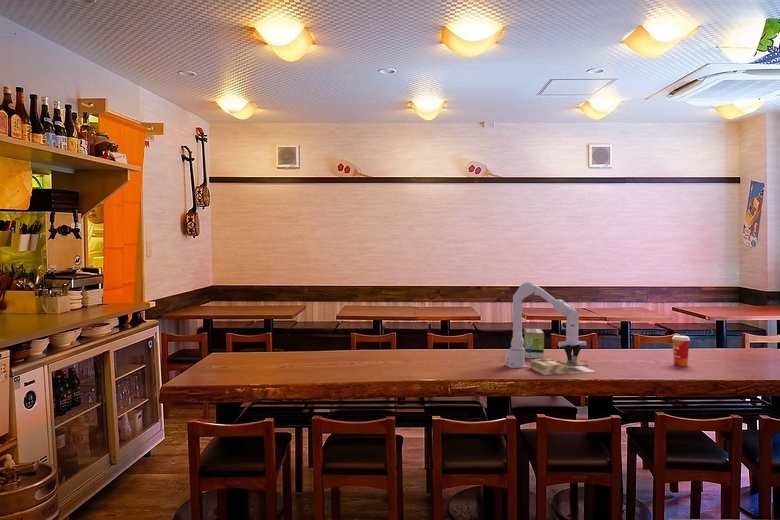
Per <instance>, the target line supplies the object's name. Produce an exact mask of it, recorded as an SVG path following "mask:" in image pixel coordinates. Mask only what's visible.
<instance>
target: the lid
mask: <svg viewBox="0 0 780 520" xmlns="http://www.w3.org/2000/svg"><path fill="white" fill-rule="evenodd" d="M556 362H558V363H560V364H562V365H564V364H566V365H567V366H568V367H577V366H583V367H589V364H587V363H584V362H582V361H580V360H578V357H577V356H574V355H573V354H571V361H569V360H568V359H564V360H556Z"/></svg>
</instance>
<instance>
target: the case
mask: <svg viewBox="0 0 780 520" xmlns="http://www.w3.org/2000/svg"><path fill="white" fill-rule="evenodd" d="M530 369H532V370H534V371H536V372H537V373H540V374H542V375H544V376H547V375H565V374H566V375H567V374H568V373H567V365H566V364H564V365H563V364H561V363H558V362H557V361H555V359H554V358H543V359H530Z"/></svg>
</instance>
